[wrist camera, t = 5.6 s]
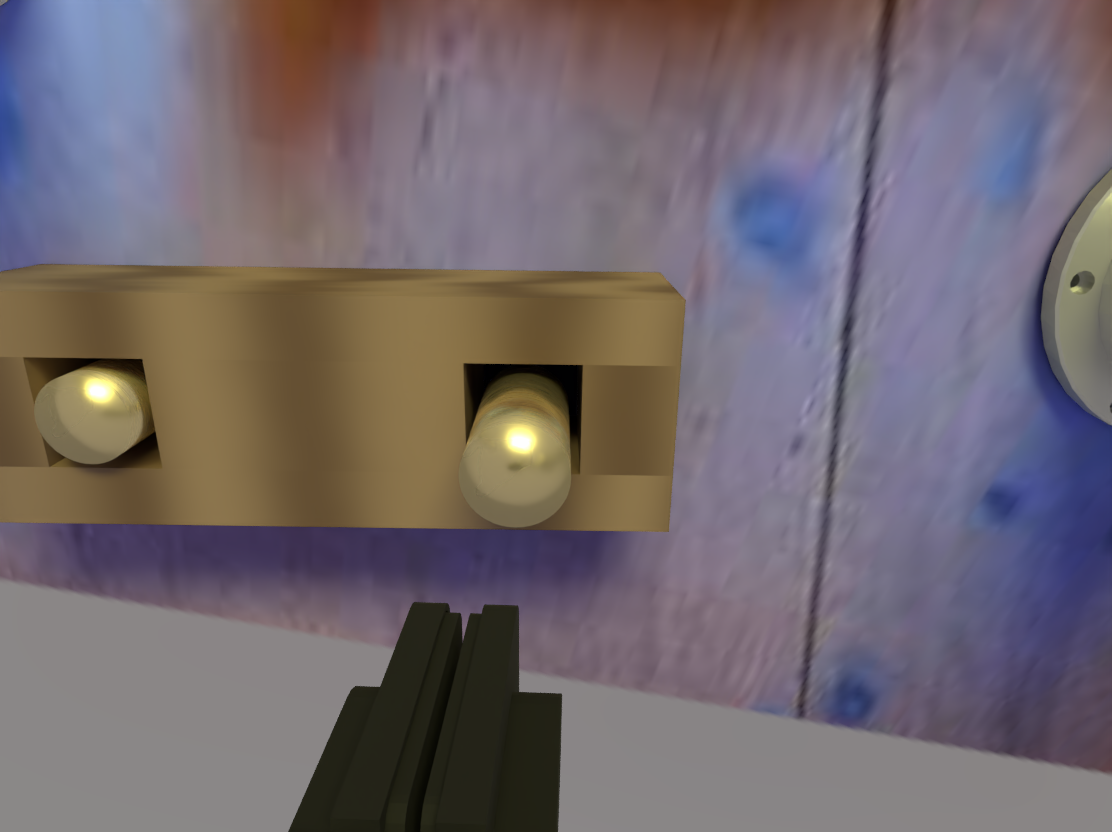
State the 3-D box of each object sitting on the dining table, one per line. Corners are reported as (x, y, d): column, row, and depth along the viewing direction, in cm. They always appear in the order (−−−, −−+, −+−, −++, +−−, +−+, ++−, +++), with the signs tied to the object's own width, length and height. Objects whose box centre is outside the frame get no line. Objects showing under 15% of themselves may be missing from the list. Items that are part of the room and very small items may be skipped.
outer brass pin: (210, 333, 28) (120, 376, 22) (221, 406, 29) (138, 464, 23) (133, 332, 28) (24, 374, 22) (147, 405, 29) (46, 463, 23)
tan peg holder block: (659, 272, 28) (685, 300, 22) (648, 463, 30) (668, 531, 25) (40, 264, 28) (-94, 289, 22) (83, 455, 30) (-27, 521, 25)
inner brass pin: (569, 364, 24) (572, 425, 19) (567, 446, 25) (570, 528, 20) (481, 363, 24) (456, 423, 19) (483, 445, 25) (460, 526, 20)
